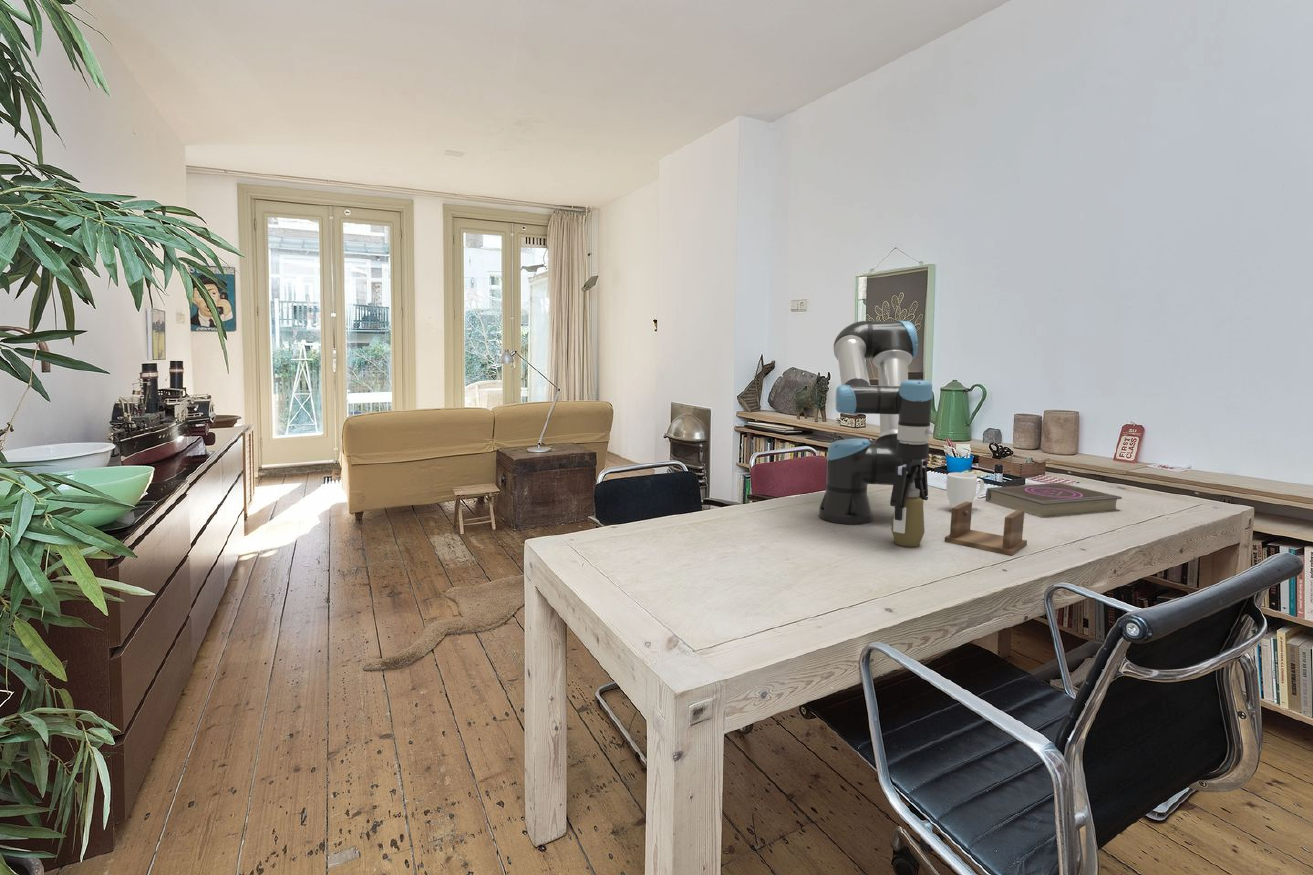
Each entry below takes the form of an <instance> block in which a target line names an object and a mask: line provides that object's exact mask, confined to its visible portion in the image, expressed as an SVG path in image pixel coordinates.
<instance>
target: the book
mask: <svg viewBox="0 0 1313 875" xmlns="http://www.w3.org/2000/svg"><path fill="white" fill-rule="evenodd" d="M1122 499H1123V497H1122V496H1120V495H1119V496H1118V495H1115V494H1110V493H1106V492H1101V491H1098V490H1097V491H1096V490H1092V489H1088V488H1084V487H1080V486H1075V485H1071V484H1067V483H1062V482H1053V483H1039V484H1037V483H1036V484H1027V485H1025V484H1024V485H1009V486H1008V485H1007V486H998V487H997V486H996V487H987V489H986V491H985V502H988V503H989V504H990V503H991V504H995V505H997V506H1001V507H1005V508H1009V509H1011V510H1014V511H1016V510H1022V511H1024V514H1028V515H1032V516H1035V517H1038V518H1040V519H1041V518H1042V519H1048V518H1059V517H1067V516H1068V517H1069V516H1081V515H1090V514H1092V515H1093V514H1101V513H1113V512H1121V510H1120V509H1117V501H1118V500H1122Z"/></svg>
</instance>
